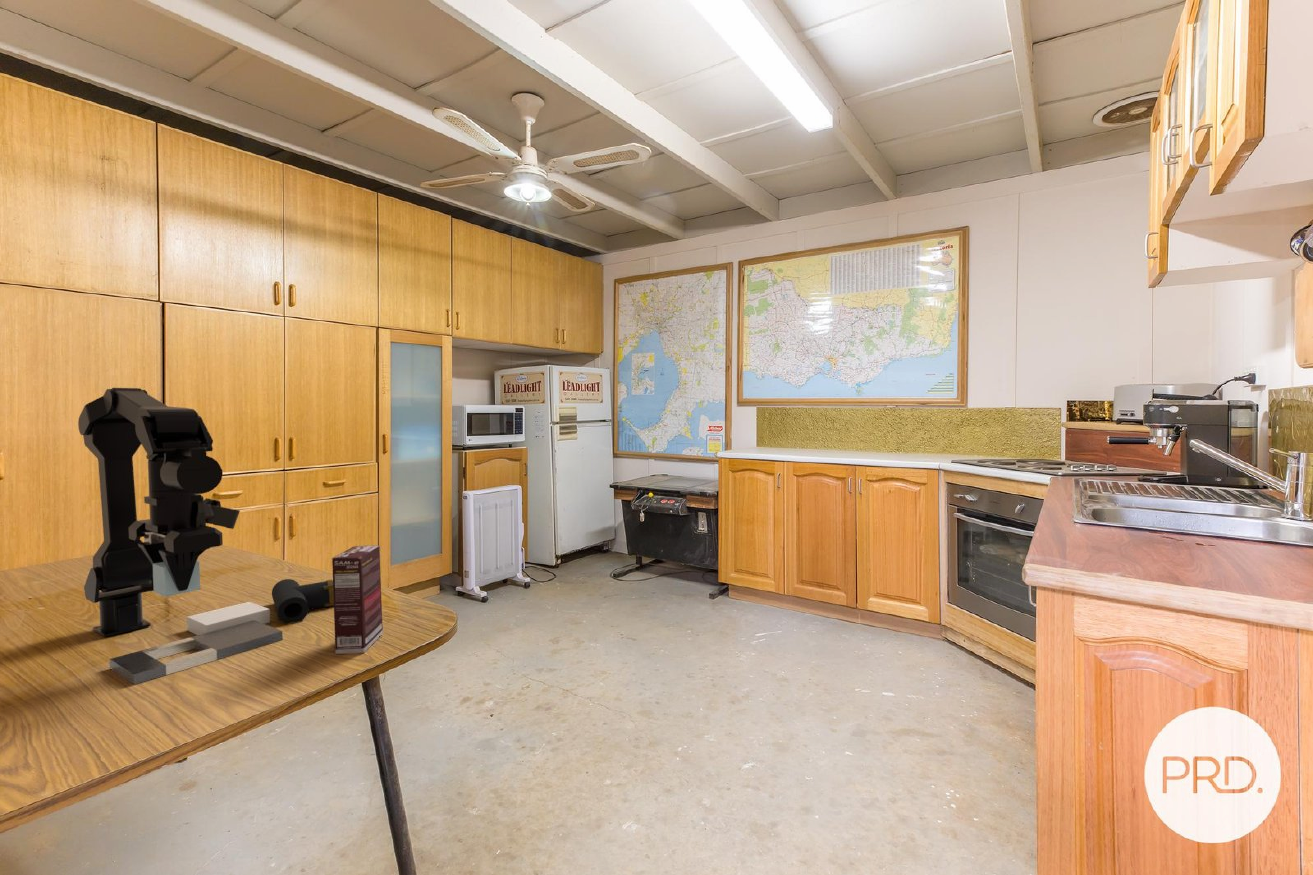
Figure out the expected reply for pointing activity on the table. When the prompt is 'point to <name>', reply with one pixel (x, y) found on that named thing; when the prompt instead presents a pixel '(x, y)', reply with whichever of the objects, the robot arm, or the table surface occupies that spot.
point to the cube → (166, 584)
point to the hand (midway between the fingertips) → (176, 587)
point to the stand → (227, 617)
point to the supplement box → (357, 599)
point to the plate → (210, 649)
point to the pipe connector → (300, 598)
